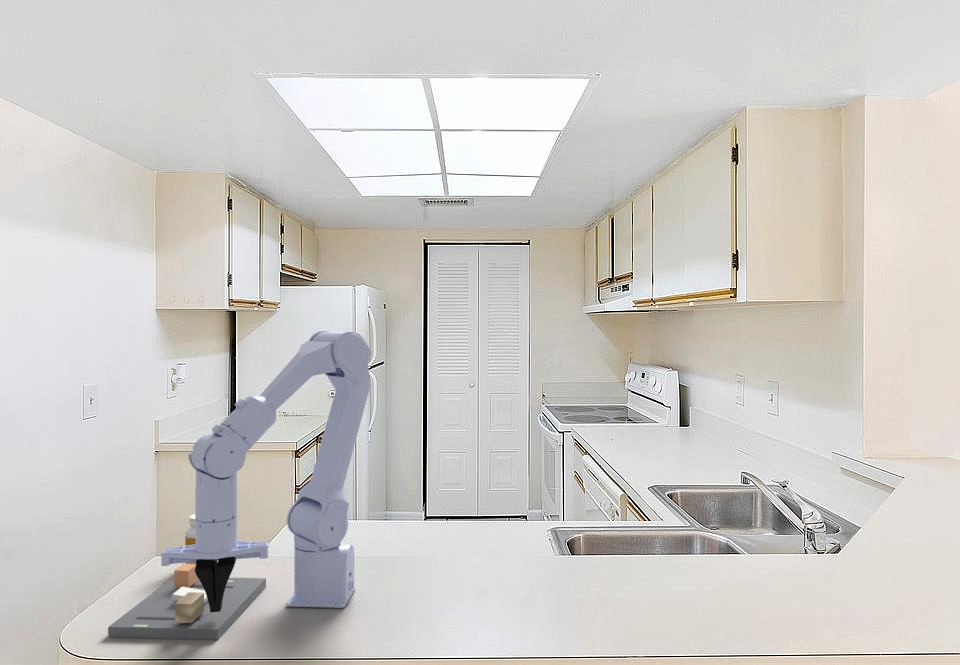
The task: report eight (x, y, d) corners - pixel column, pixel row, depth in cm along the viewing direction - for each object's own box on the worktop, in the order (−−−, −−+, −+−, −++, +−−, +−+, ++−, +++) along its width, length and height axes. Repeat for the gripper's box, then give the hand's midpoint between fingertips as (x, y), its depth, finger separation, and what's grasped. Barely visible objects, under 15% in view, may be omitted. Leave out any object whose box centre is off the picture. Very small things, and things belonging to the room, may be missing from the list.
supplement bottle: (205, 574, 119) (205, 520, 119) (178, 572, 120) (178, 519, 120) (222, 564, 125) (222, 512, 124) (197, 562, 126) (197, 510, 125)
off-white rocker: (211, 596, 106) (212, 591, 106) (203, 604, 103) (204, 599, 103) (181, 591, 106) (182, 586, 106) (171, 599, 103) (172, 594, 103)
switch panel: (265, 587, 114) (265, 576, 114) (217, 639, 95) (217, 626, 95) (174, 585, 114) (174, 574, 114) (108, 637, 96) (108, 624, 95)
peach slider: (197, 580, 112) (197, 564, 112) (188, 587, 109) (188, 570, 109) (183, 580, 112) (183, 563, 112) (174, 587, 109) (174, 570, 109)
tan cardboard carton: (204, 611, 100) (204, 592, 100) (191, 623, 96) (191, 603, 96) (188, 610, 100) (188, 592, 100) (175, 622, 96) (175, 603, 96)
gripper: (269, 506, 103) (269, 594, 103) (168, 512, 100) (168, 602, 100) (266, 520, 96) (266, 613, 97) (158, 526, 93) (157, 623, 93)
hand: (216, 609), depth 98 cm, fingers closed
